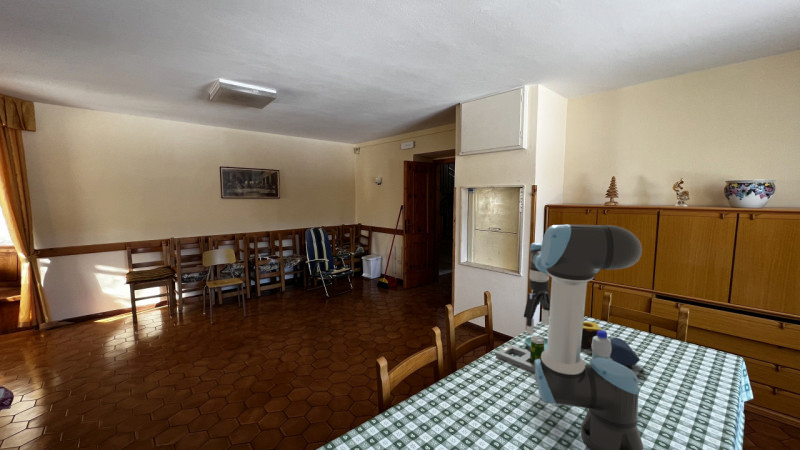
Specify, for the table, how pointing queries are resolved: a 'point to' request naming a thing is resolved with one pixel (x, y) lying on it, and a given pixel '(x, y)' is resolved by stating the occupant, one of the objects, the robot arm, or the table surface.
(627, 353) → the decorative stone
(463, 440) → the table surface
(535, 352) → the beer can
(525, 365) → the socket panel
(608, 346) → the bottle
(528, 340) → the saucer
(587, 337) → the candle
